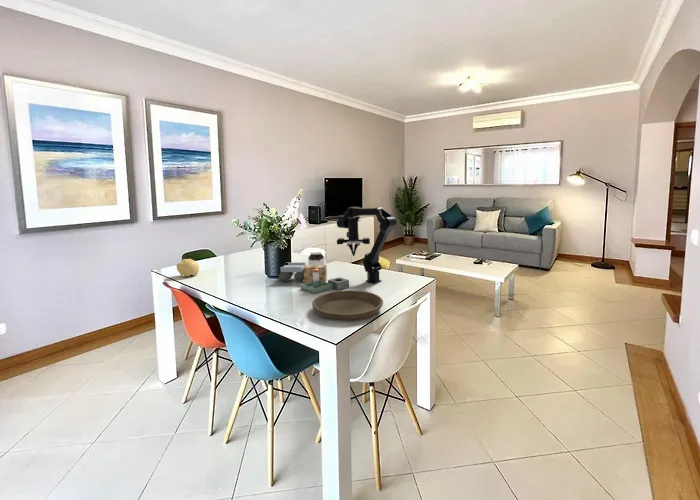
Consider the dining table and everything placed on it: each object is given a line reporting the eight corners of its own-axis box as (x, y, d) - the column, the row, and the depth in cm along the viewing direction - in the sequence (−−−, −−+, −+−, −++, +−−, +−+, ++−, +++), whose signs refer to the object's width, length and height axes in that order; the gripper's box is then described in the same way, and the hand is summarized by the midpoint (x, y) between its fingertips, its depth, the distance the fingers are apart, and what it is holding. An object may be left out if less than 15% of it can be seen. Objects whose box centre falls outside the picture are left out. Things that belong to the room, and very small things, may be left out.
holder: (349, 287, 197) (349, 280, 196) (337, 290, 191) (337, 283, 191) (339, 284, 203) (339, 277, 202) (328, 287, 197) (327, 280, 197)
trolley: (308, 276, 220) (308, 262, 219) (304, 282, 208) (304, 267, 207) (284, 276, 221) (283, 262, 220) (278, 282, 210) (277, 267, 208)
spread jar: (320, 266, 245) (319, 249, 243) (329, 269, 236) (328, 251, 234) (304, 269, 238) (303, 251, 236) (313, 272, 229) (312, 254, 227)
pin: (321, 287, 195) (320, 268, 193) (316, 288, 192) (315, 270, 191) (316, 286, 198) (315, 268, 196) (311, 288, 195) (310, 269, 193)
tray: (332, 288, 194) (332, 284, 194) (314, 293, 187) (313, 289, 186) (319, 284, 203) (319, 280, 203) (301, 288, 196) (300, 284, 195)
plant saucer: (362, 329, 142) (362, 317, 141) (298, 316, 157) (297, 306, 156) (394, 304, 168) (394, 295, 168) (336, 296, 183) (335, 287, 182)
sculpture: (187, 273, 237) (185, 256, 235) (203, 274, 233) (201, 257, 231) (174, 277, 226) (172, 260, 224) (191, 278, 223) (189, 261, 221)
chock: (326, 280, 212) (326, 265, 210) (325, 283, 206) (324, 267, 204) (306, 280, 213) (305, 265, 211) (304, 283, 207) (303, 267, 205)
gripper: (369, 227, 218) (370, 252, 221) (338, 227, 219) (339, 253, 222) (369, 229, 207) (369, 256, 210) (336, 229, 208) (337, 257, 211)
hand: (353, 255), depth 213 cm, fingers closed
